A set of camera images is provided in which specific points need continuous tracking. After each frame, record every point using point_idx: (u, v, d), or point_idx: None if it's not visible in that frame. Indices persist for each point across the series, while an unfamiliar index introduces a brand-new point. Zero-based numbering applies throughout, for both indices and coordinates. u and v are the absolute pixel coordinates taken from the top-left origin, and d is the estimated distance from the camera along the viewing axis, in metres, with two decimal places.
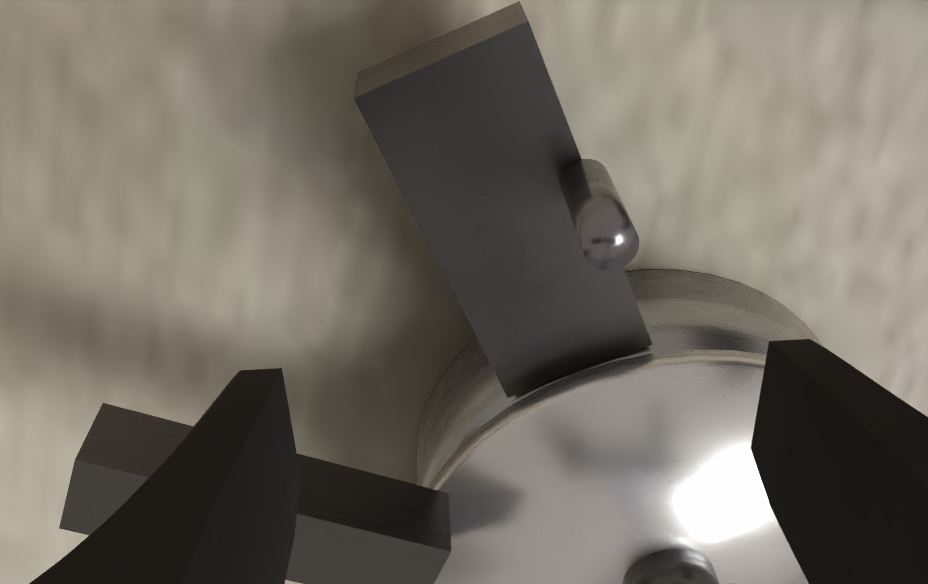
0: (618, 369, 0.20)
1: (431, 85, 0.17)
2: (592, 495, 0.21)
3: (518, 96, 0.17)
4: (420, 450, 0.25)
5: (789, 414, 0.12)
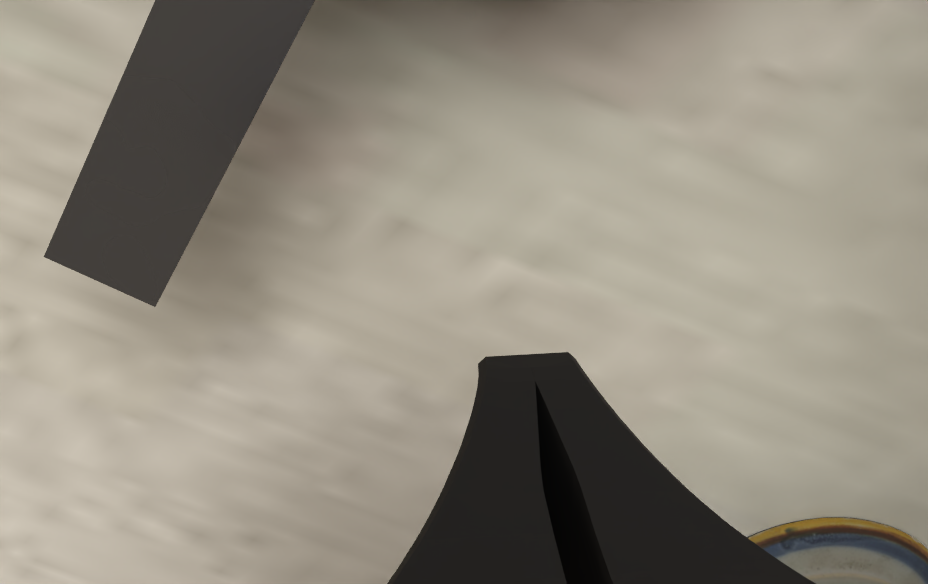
0: None
1: None
2: None
3: None
4: None
5: None
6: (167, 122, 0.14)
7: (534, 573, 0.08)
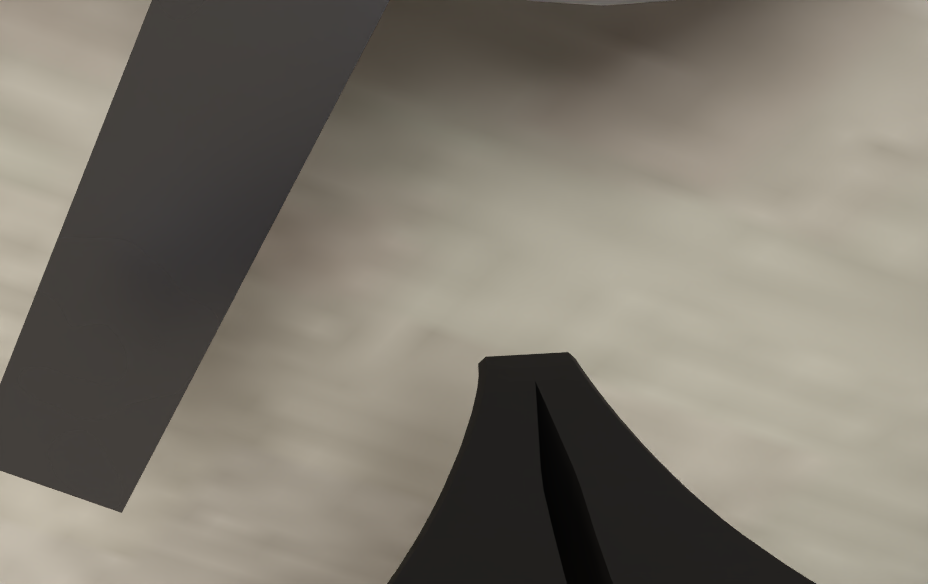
0: None
1: None
2: None
3: None
4: None
5: None
6: (123, 293, 0.10)
7: (534, 573, 0.08)
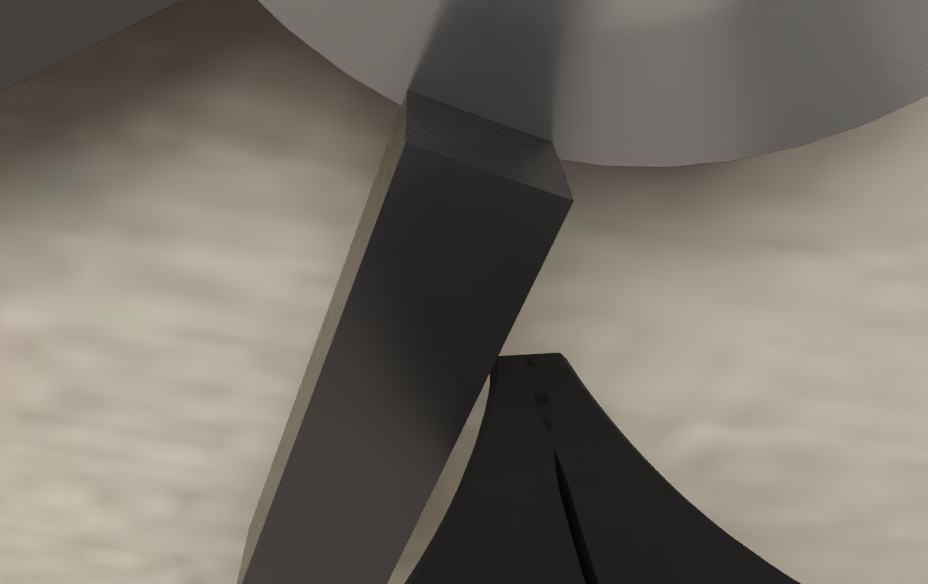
0: None
1: None
2: None
3: None
4: None
5: None
6: (351, 473, 0.12)
7: (552, 572, 0.08)
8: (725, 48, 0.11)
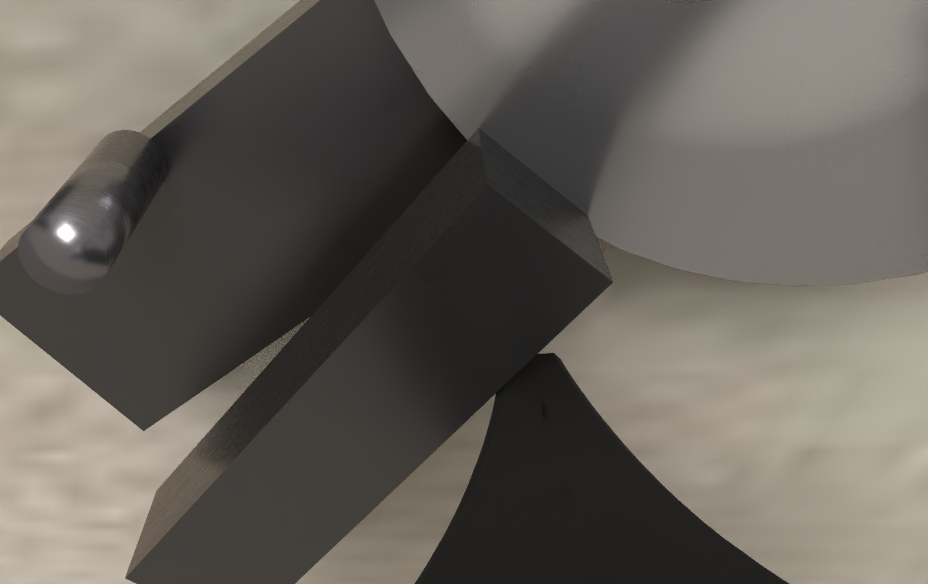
0: None
1: (92, 364, 0.14)
2: None
3: None
4: None
5: None
6: (307, 470, 0.12)
7: (563, 572, 0.08)
8: (763, 183, 0.12)
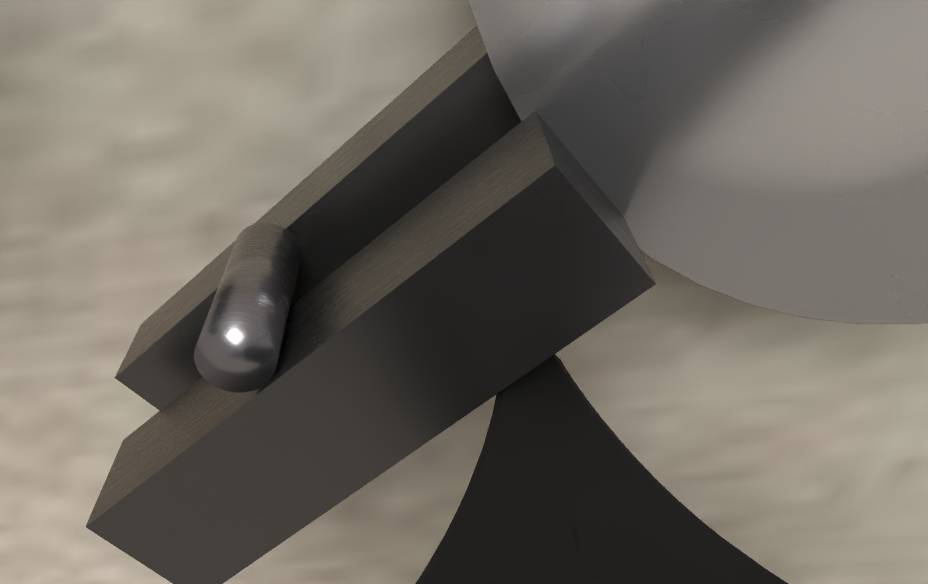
0: None
1: None
2: None
3: None
4: None
5: None
6: (305, 436, 0.11)
7: (564, 571, 0.08)
8: (798, 211, 0.12)
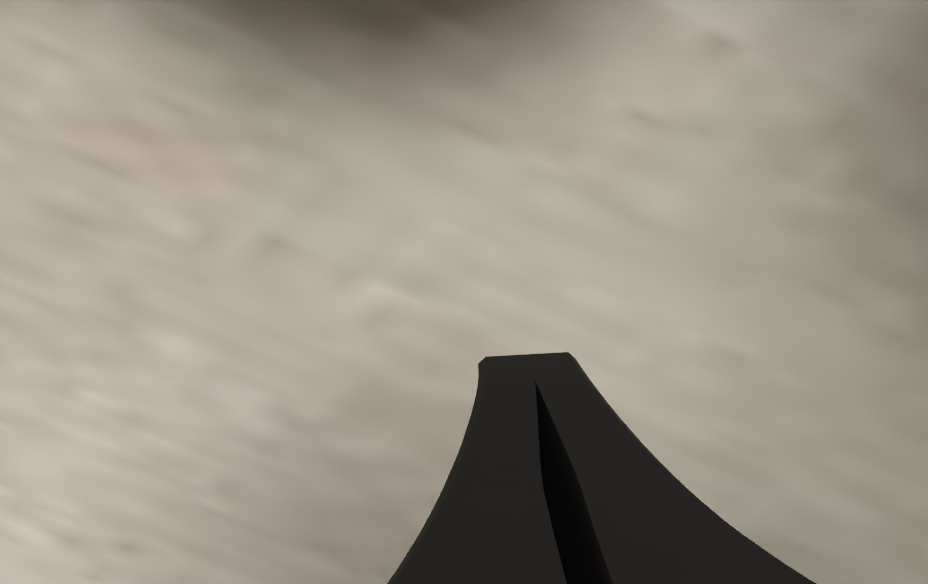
0: None
1: None
2: None
3: None
4: None
5: None
6: None
7: (534, 573, 0.08)
8: None
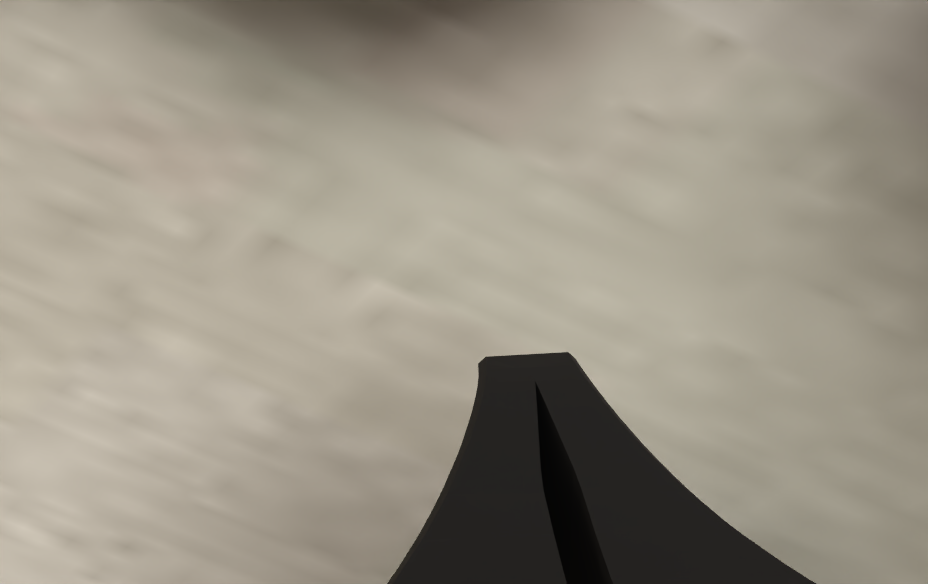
0: None
1: None
2: None
3: None
4: None
5: None
6: None
7: (534, 573, 0.08)
8: None
